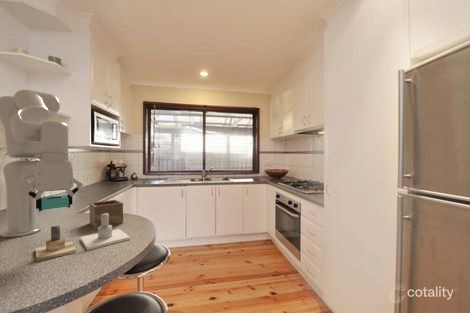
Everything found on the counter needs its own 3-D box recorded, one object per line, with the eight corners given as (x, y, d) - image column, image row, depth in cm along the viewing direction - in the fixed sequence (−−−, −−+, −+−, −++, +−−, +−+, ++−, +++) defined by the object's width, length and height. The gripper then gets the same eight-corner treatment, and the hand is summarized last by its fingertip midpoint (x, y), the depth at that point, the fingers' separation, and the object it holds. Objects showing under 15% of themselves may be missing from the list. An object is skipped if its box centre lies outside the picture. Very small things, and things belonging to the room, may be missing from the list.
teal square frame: (41, 206, 75) (41, 197, 75) (66, 203, 80) (66, 195, 80) (41, 210, 70) (41, 200, 70) (68, 206, 75) (68, 197, 75)
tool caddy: (89, 223, 108) (89, 203, 108) (116, 218, 116) (116, 199, 116) (94, 228, 99) (94, 206, 99) (123, 222, 107) (122, 202, 107)
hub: (80, 239, 86) (80, 214, 86) (119, 231, 95) (119, 208, 95) (87, 250, 75) (86, 221, 75) (129, 239, 85) (129, 213, 85)
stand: (35, 250, 76) (35, 226, 76) (71, 242, 83) (71, 220, 83) (36, 262, 67) (36, 234, 67) (76, 252, 74) (75, 227, 74)
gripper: (19, 157, 67) (19, 215, 67) (86, 157, 78) (86, 206, 79) (19, 157, 72) (20, 211, 72) (83, 157, 84) (83, 203, 84)
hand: (54, 208), depth 75 cm, fingers closed on teal square frame, 7 cm apart
